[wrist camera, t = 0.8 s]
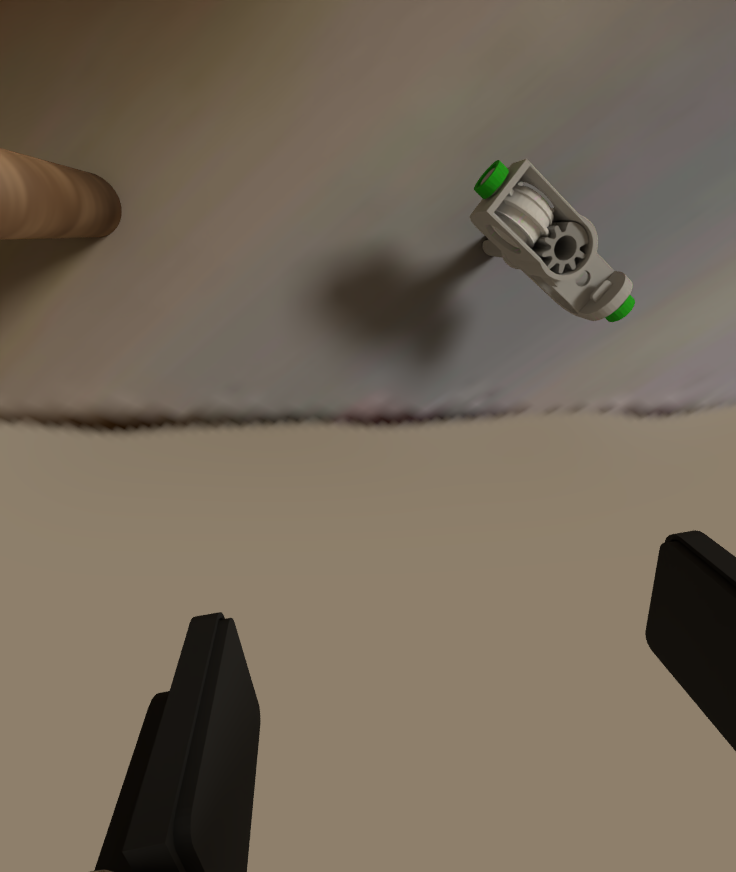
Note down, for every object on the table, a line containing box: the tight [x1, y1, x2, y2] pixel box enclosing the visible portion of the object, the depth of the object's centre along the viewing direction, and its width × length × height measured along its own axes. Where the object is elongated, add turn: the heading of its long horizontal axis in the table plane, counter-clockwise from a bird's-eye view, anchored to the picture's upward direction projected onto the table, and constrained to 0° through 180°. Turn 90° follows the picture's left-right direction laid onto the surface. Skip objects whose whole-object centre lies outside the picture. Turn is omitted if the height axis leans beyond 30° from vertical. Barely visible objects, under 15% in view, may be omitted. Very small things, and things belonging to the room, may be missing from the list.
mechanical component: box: [470, 159, 635, 322], centre depth 27 cm, size 3×10×10 cm, turn 52°
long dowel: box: [0, 148, 121, 240], centre depth 23 cm, size 4×4×12 cm
